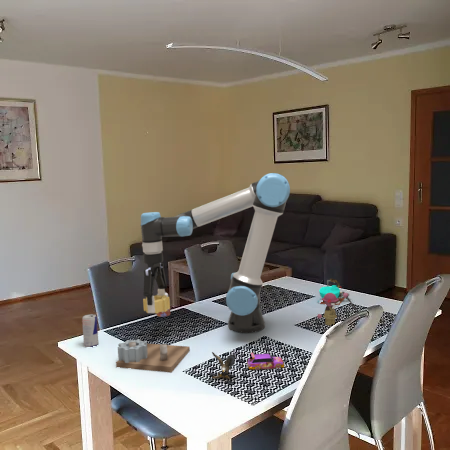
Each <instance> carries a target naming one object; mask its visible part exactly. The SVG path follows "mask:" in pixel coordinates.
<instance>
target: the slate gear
mask: <svg viewBox="0 0 450 450" xmlns="http://www.w3.org/2000/svg"><path fill="white" fill-rule="evenodd" d="M130 342H136V346H135V347H129V343H130ZM147 344H148V342H147V340H144V341H142V340H141V339H139V338H138V339H134V340H133V339H132V340H131V339H127V340H126V341H125V342H120V343H118V346H117V359H118V360H119V361H121V360H123V361H125V363H129V362H134V361H136V362H140V360H141V359H146V358H147V354H148V352H147ZM118 360H117V361H118Z"/></svg>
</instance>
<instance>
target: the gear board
mask: <svg viewBox="0 0 450 450" xmlns="http://www.w3.org/2000/svg"><path fill="white" fill-rule="evenodd" d="M135 346H136V342H130V343H129V347H135ZM190 350H191V349H190V346H188V345H187V346H186V345H185V346H184V345H171V344H167V343H162V344H159V343H158V344H156V343H147V352H148V354H147V358H146V359H141V360H140V362H136V361H134V362H129V363H125V361H123V360H121V361H119V360H117V361H116V362H115V366H116V367H115V368H117V367H120V368H119V369H128V368H131V369H130V370H139V371H140V370H141V371H149V372H150V371H151V372H159V373H160V372H161V373H173V371H174V370H175V369H177V367H178V366H179V365H180V363H181V362H182V361H183V360H184V358H186V356H187V355H188V353H190Z"/></svg>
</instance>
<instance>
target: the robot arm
mask: <svg viewBox="0 0 450 450" xmlns="http://www.w3.org/2000/svg"><path fill="white" fill-rule="evenodd" d="M290 194H291V188H290V183H289V181H288V179H287V178H286V177H285V176H284V175H282V174H280V173H275V172H272V173H266V174H264V175H263V176H262V177H261V178H260V179H259V180H257V181H255V182H252V183H250V185H249V187H247V188H244V189H241V190H238V191H236V192H234V193H232V194H228V195H226V196H223V197H221V198H218V199H215V200H212V201H210V202H208V203H205V204H202V205H201V206H197V207H195V208H193V209H190V210H187V211H185V212H181V213H180V214H178V215H175V216H164V217H163V216H161V213H160V212H159V211H153V212H152V211H150V212H143V213H141V215H140V231H141V239H142V241H141V242H142V244H141V247H142V252H143V254H142V257H143V263H144V264H146V265H147V268H146V269H143V275H144V277H143V297H145V298H146V297H147V307H148V313H147V314H156V313H155V302H154V296H155V295H154V289H155V282H156V284H157V287H158V288H157V295H158V296H163V295H165V293H166V290H165V289H167V288H168V286H167V285H168V284H167V278H166V274H165V268H164V267H165V266H164V265H165V263H164V254H163V251H164V249H163V248H164V247H163V238H165V237H181V238H182V237H188V236H191V235H192V234H193V230H194V229H196V228H198V227H202V226H204V225H207V224H210V223H211V222H212V223H213V222H215V221H218V220H220V219H222V218H225V217H226V218H227V217H228V216H230V215H233V214H236V213H239V212H242V211H244V210H246V209H249V208H252V207H253V210H254V214H253V217H252V221H251V224H250V229H249V232H248V236H247V240H246V243H245V247H244V250H243V253H242V257H241V259H240V263H239V267H238V268H239V269H238V270H237V272H232V273H231V274H230V284H229V288H228V291H227V293H226V295H225V302H226V306H227V308H228V310H230V315H229V317H228V322H227V325H228V328H227V329H228V330H230V331H232V332H234V333H238V334H241V333H242V334H252V333H257V332H260V331H262V330H264V329H265V327H266V325H265V324H266V323H265V318H264V316H263V312H262V310H261V291H262V287H263V280H262V279H261V276H262V272H263V269H264V266H265V262H266V258H267V255H268V252H269V249H270V245H271V241H272V238H273V235H274V231H275V228H276V224H277V221H278V218H279V217H280V216H282V215H283V214H284V211H285V207H286V203H287V201H288V199H289V197H290Z"/></svg>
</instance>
